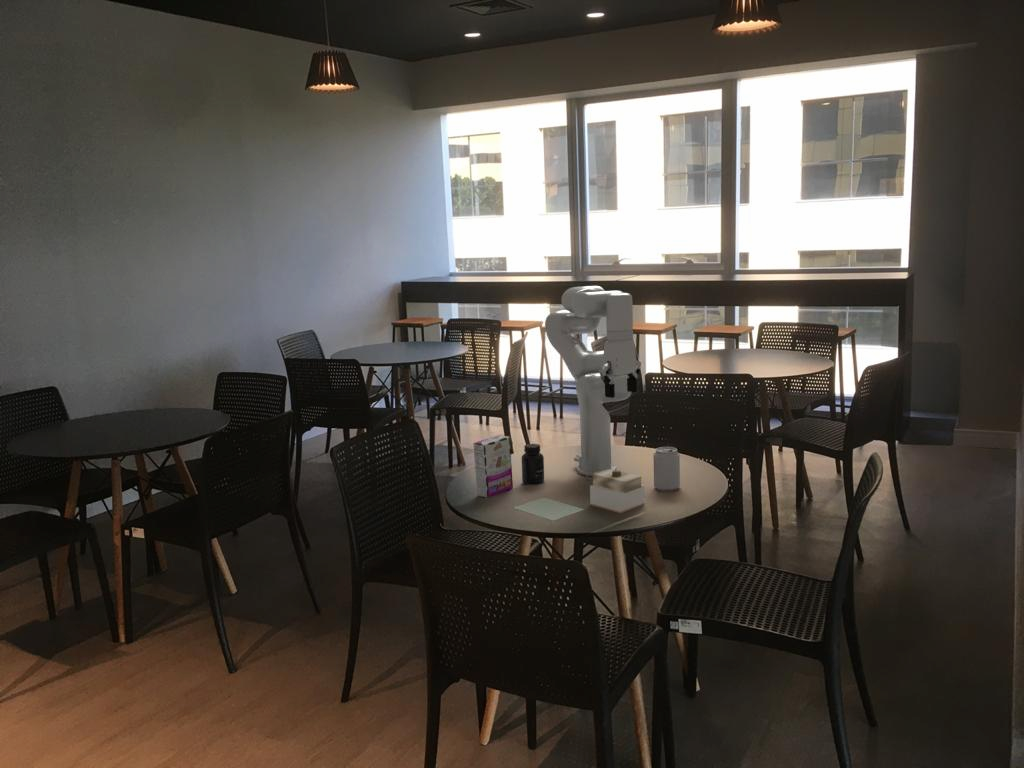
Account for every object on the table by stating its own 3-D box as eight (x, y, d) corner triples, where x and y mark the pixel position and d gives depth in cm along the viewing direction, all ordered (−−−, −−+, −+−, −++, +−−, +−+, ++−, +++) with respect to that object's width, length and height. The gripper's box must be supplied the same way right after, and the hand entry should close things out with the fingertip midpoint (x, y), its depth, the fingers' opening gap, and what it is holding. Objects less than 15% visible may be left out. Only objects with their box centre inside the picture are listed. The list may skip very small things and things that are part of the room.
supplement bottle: (542, 486, 254) (541, 448, 252) (520, 486, 255) (519, 448, 253) (546, 480, 261) (544, 442, 259) (524, 479, 262) (522, 442, 260)
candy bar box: (501, 486, 256) (498, 434, 253) (513, 489, 253) (511, 436, 250) (475, 496, 248) (472, 442, 245) (487, 499, 245) (484, 444, 242)
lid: (592, 484, 234) (592, 470, 233) (608, 479, 238) (608, 465, 238) (625, 492, 225) (625, 478, 225) (641, 487, 230) (641, 473, 229)
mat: (513, 509, 234) (512, 507, 234) (543, 499, 242) (543, 497, 242) (553, 522, 222) (553, 520, 222) (584, 511, 230) (584, 509, 230)
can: (679, 492, 243) (679, 452, 241) (653, 492, 244) (652, 452, 242) (680, 484, 250) (679, 445, 248) (654, 484, 252) (653, 445, 249)
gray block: (590, 506, 234) (589, 486, 233) (614, 498, 240) (613, 478, 239) (620, 515, 226) (620, 493, 224) (644, 506, 232) (644, 485, 231)
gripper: (629, 332, 250) (630, 388, 253) (589, 338, 238) (591, 397, 242) (649, 333, 244) (650, 391, 247) (609, 340, 233) (610, 400, 236)
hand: (621, 394), depth 244 cm, fingers open, 9 cm apart
